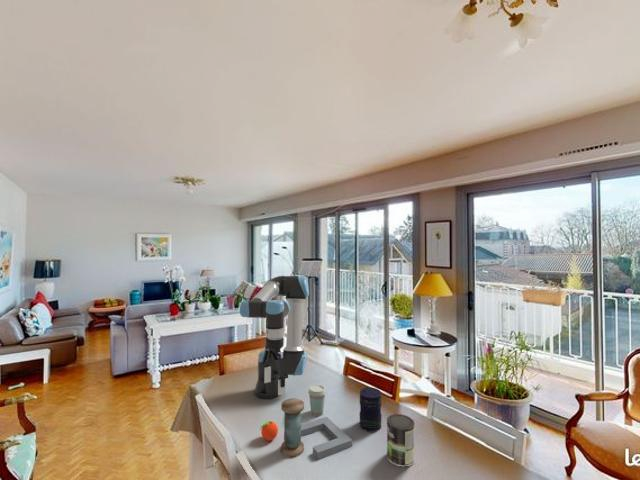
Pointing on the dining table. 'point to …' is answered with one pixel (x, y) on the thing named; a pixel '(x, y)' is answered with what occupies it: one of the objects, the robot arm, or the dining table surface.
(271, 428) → the clementine
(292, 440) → the bobbin
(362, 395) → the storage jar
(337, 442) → the notched board
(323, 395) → the coffee cup
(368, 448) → the dining table surface
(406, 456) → the coffee can
